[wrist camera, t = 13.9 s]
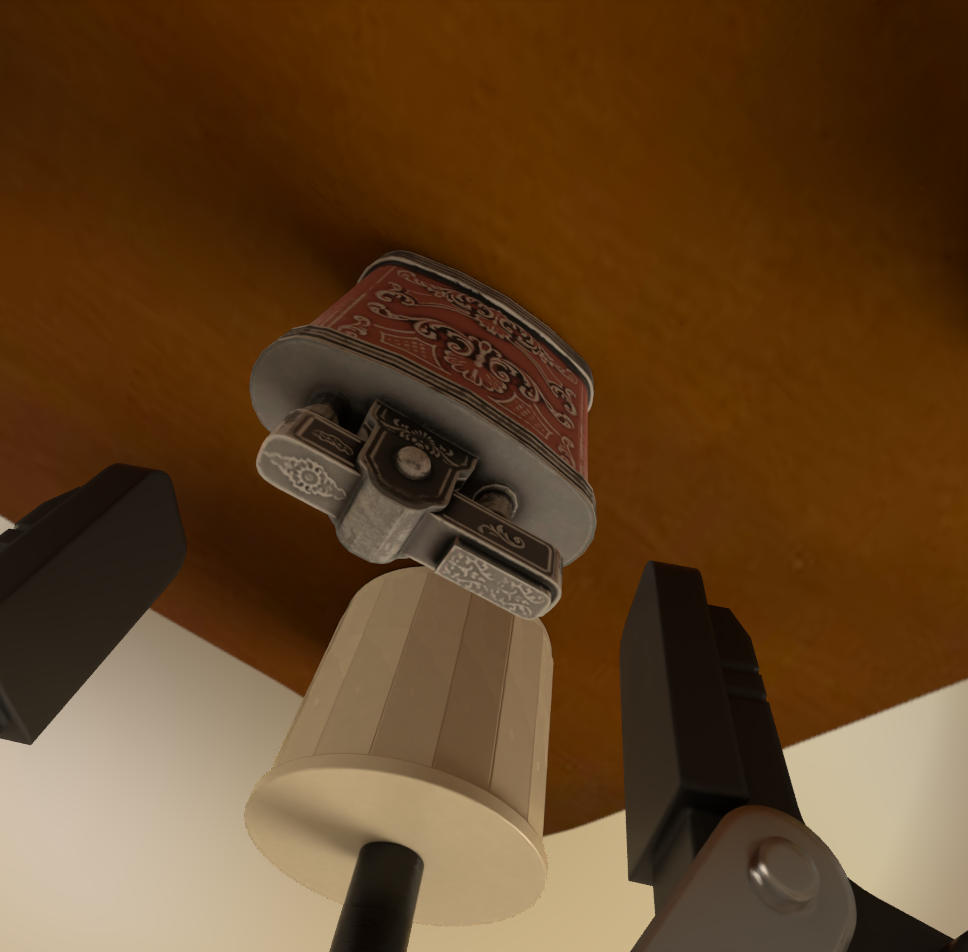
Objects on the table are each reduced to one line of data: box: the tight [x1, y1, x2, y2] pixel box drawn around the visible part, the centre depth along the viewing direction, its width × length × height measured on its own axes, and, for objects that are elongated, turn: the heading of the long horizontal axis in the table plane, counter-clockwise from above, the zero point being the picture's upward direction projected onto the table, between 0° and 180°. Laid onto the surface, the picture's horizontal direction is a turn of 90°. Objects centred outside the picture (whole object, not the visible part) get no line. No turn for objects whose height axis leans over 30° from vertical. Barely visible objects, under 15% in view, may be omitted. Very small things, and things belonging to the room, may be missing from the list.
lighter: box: [249, 250, 596, 620], centre depth 15 cm, size 8×3×10 cm, turn 60°
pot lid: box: [244, 753, 548, 952], centre depth 18 cm, size 10×10×6 cm
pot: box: [271, 566, 553, 841], centre depth 23 cm, size 10×10×8 cm
